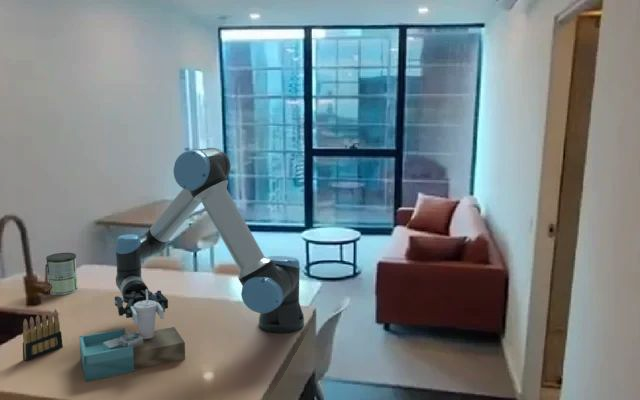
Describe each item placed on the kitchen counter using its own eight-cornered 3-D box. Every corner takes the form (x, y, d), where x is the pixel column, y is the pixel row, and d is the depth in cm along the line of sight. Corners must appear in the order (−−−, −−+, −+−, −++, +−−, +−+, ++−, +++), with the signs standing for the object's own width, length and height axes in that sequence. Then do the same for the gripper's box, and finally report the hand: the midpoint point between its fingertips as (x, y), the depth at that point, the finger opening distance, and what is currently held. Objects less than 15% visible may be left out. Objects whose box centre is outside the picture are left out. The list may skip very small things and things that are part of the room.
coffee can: (43, 291, 196) (41, 256, 194) (69, 284, 204) (67, 251, 202) (56, 297, 190) (54, 261, 188) (83, 290, 198) (81, 255, 196)
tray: (125, 350, 147) (124, 328, 146) (134, 371, 136) (133, 346, 135) (80, 359, 142) (79, 336, 140) (85, 381, 130) (83, 356, 129)
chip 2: (135, 340, 143) (135, 331, 143) (143, 345, 140) (142, 336, 140) (120, 345, 140) (119, 336, 140) (127, 350, 137) (127, 341, 137)
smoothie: (154, 341, 141) (152, 293, 138) (131, 340, 141) (128, 293, 139) (161, 331, 147) (159, 285, 145) (140, 331, 147) (137, 285, 145)
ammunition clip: (26, 361, 140) (23, 320, 138) (22, 359, 141) (19, 319, 139) (63, 347, 149) (60, 308, 147) (59, 345, 150) (56, 307, 148)
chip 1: (119, 346, 141) (119, 337, 140) (126, 351, 137) (126, 342, 137) (103, 351, 137) (102, 342, 137) (110, 356, 134) (110, 347, 134)
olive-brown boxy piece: (174, 342, 154) (174, 326, 153) (185, 358, 143) (184, 342, 143) (126, 352, 147) (125, 335, 146) (133, 369, 137) (132, 352, 136)
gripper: (166, 298, 163) (184, 323, 144) (102, 307, 154) (112, 336, 134) (165, 275, 162) (184, 298, 142) (100, 284, 153) (111, 309, 133)
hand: (149, 316), depth 138 cm, fingers closed on smoothie, 6 cm apart
